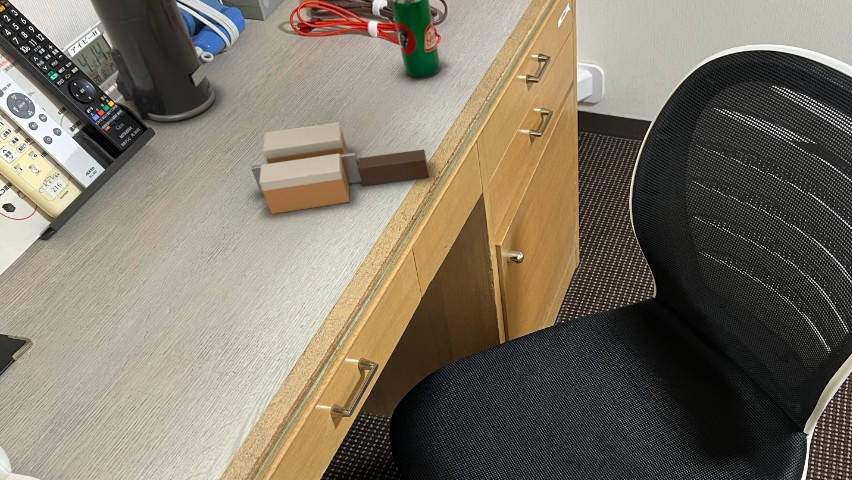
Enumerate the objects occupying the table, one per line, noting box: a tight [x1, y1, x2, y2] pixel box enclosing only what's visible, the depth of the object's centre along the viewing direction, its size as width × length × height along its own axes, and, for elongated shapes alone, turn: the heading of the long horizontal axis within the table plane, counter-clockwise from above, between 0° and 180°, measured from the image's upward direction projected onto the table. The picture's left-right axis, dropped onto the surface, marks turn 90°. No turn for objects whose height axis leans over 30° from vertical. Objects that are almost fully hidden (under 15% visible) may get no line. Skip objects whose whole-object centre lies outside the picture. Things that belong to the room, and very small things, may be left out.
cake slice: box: [260, 154, 350, 215], centre depth 97 cm, size 9×4×4 cm, turn 103°
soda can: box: [389, 0, 441, 79], centre depth 114 cm, size 5×5×12 cm
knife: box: [250, 149, 430, 196], centre depth 99 cm, size 20×2×4 cm, turn 101°
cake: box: [262, 121, 349, 164], centre depth 101 cm, size 9×4×4 cm, turn 103°
